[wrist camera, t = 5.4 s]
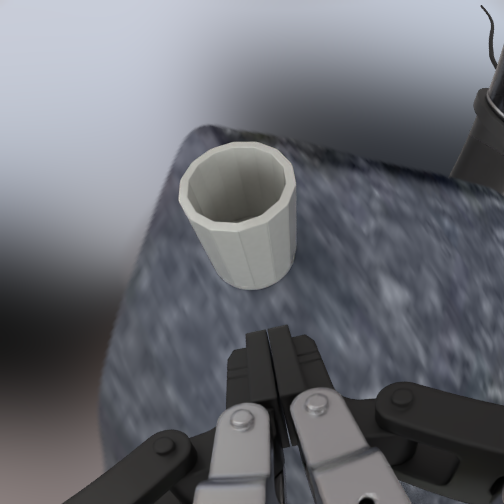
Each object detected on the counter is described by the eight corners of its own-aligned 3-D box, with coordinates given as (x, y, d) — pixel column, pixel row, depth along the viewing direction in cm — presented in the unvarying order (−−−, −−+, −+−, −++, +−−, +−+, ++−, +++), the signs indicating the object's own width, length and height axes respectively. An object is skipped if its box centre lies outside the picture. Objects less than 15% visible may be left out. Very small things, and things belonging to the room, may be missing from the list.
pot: (242, 203, 24) (223, 130, 17) (311, 237, 22) (316, 164, 15) (194, 262, 22) (156, 200, 16) (266, 306, 20) (252, 253, 13)
